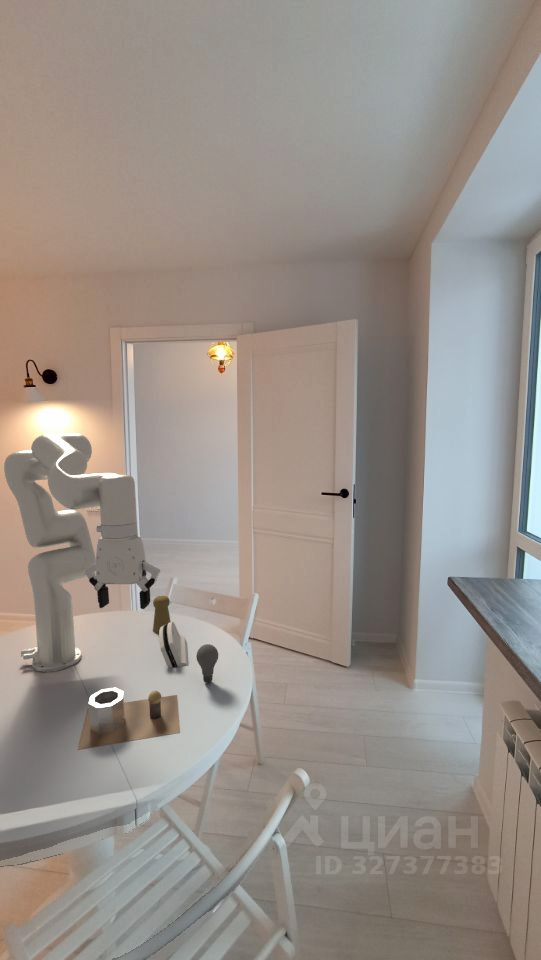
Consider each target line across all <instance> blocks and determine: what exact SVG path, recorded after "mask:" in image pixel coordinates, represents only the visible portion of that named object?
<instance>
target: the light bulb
mask: <svg viewBox="0 0 541 960" xmlns="http://www.w3.org/2000/svg"><path fill="white" fill-rule="evenodd" d="M196 660H197V663H198V665H199V667H200V669H201V673H202V678H203V679H202V680H203V682H204V683H206V684H209V683H211V682H212V681H213V677H214V675H213V674H214V669H215V665H216V664H217V662H218V660H219V652H218V649H217V647H215V645H212V644H209V643H208V644H203V645H201V646H200V647H199V648H198V650H197V652H196Z"/></svg>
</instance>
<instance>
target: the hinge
mask: <svg viewBox="0 0 541 960" xmlns="http://www.w3.org/2000/svg"><path fill="white" fill-rule="evenodd" d="M158 640H159V641H158V642H159V647H160V652H161V653H162V657H163V659H164V661H165V664H166V666H167V669H175V668H182V667H189V653H188V642H187V640H186V637H185V636H181V635H180V632H179V631H178V629H177V626H176V624H175V622H174V621H171V622H170V623H168V625H163V626H162V627H161V628H160V630H159V634H158Z"/></svg>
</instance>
